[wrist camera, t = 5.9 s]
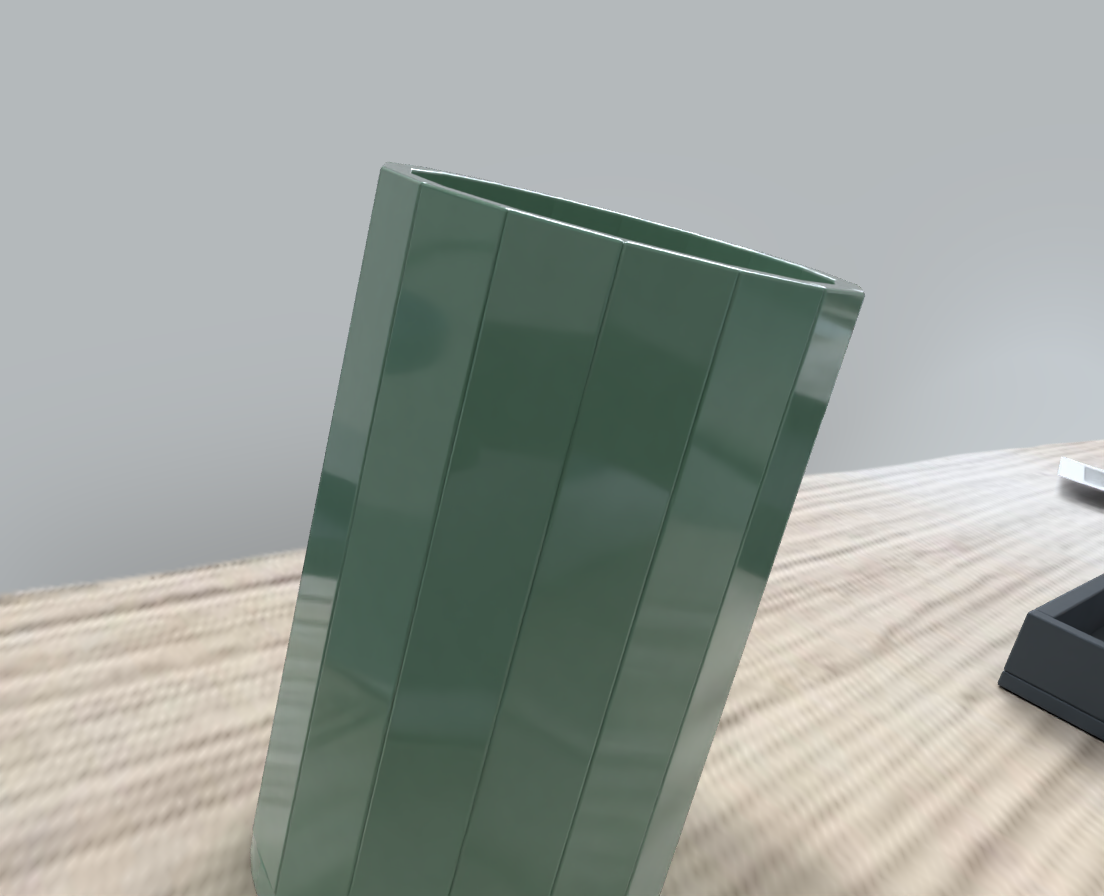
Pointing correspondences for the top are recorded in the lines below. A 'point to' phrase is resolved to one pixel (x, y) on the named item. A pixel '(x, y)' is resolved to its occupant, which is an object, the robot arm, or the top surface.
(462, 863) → the tumbler
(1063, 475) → the touchpad
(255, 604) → the top surface
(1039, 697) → the tray
